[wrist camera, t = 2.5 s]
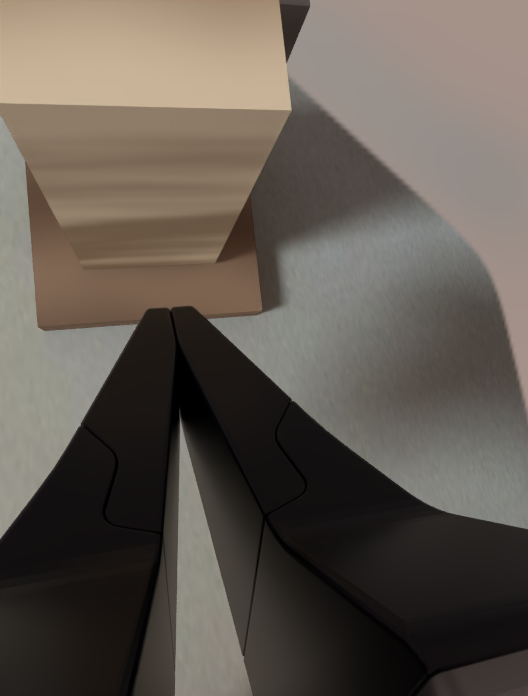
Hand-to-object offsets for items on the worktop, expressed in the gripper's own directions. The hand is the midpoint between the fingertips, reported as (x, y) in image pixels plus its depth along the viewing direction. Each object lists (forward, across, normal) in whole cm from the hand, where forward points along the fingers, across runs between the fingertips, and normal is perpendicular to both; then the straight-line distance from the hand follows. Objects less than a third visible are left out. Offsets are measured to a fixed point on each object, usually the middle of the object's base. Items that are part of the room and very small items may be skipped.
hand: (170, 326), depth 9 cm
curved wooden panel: (+11, 0, +3) cm, 11 cm away
